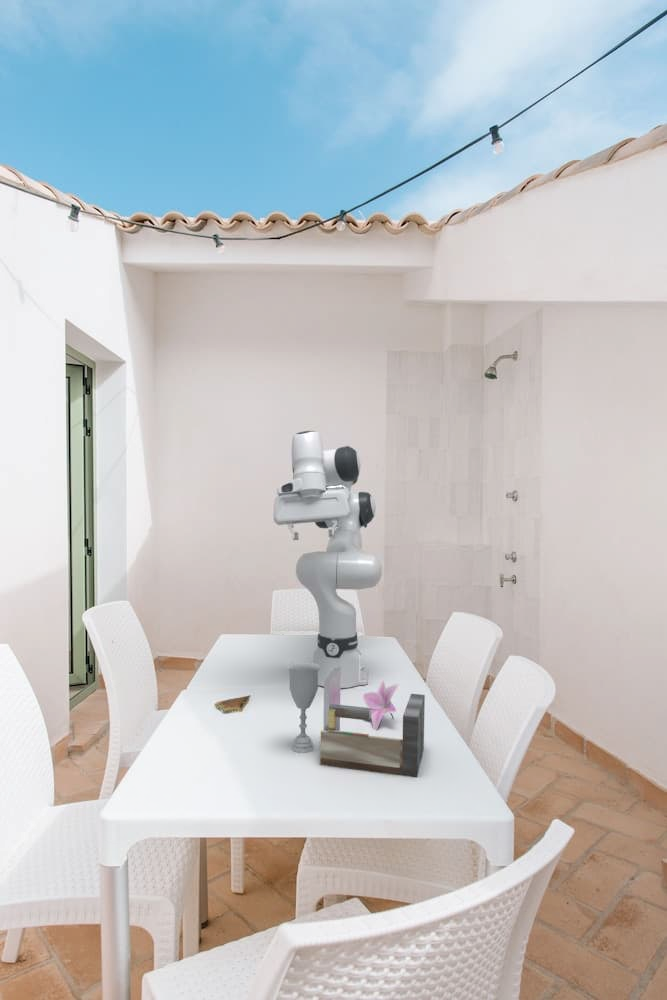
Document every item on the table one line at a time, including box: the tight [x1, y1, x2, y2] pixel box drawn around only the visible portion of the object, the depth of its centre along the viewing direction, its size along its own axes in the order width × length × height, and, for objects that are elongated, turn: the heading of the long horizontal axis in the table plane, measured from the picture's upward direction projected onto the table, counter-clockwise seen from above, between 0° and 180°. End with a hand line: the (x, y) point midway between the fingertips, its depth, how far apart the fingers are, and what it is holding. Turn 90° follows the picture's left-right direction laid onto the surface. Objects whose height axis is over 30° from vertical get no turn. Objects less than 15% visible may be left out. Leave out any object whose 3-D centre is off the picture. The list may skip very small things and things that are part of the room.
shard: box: [213, 694, 251, 714], centre depth 158 cm, size 11×8×2 cm
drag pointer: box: [328, 709, 336, 731], centre depth 126 cm, size 1×1×9 cm
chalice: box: [287, 661, 320, 754], centre depth 133 cm, size 7×7×18 cm
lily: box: [362, 680, 399, 731], centre depth 149 cm, size 12×12×10 cm
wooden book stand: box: [319, 693, 426, 778], centre depth 129 cm, size 14×20×12 cm
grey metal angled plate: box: [322, 667, 372, 731], centre depth 130 cm, size 11×9×15 cm
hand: (313, 538), depth 157 cm, fingers open, 8 cm apart
